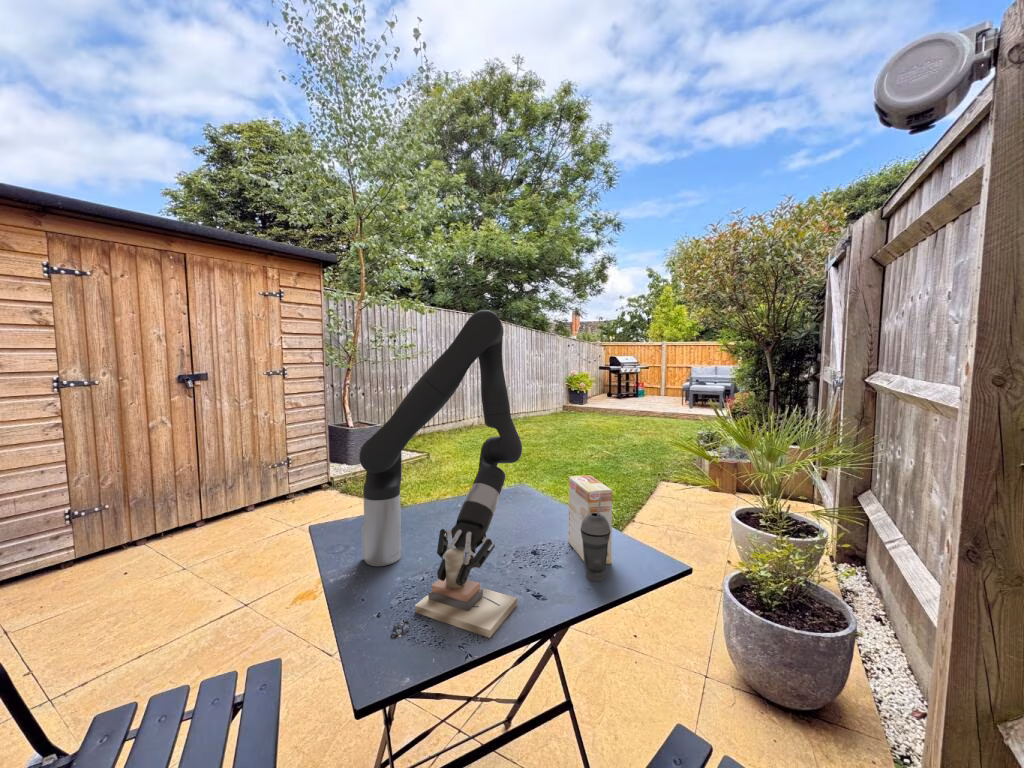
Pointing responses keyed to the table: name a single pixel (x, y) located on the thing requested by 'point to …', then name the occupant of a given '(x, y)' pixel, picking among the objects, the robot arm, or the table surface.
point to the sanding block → (448, 588)
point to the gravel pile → (400, 629)
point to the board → (472, 612)
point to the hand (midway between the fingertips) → (449, 581)
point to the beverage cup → (595, 544)
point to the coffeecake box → (587, 508)
